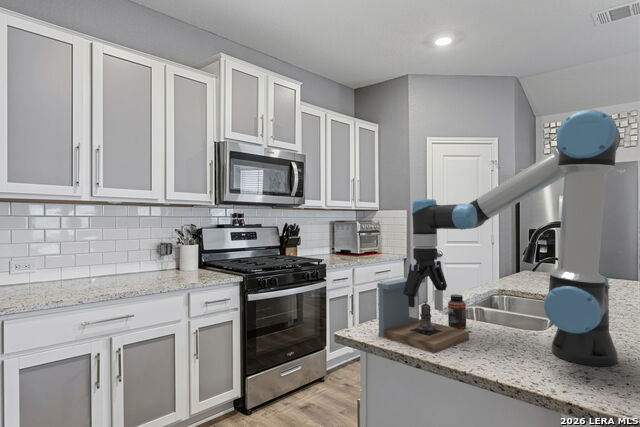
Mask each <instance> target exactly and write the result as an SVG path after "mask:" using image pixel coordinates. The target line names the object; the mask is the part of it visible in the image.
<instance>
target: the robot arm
mask: <svg viewBox="0 0 640 427" xmlns="http://www.w3.org/2000/svg"><path fill="white" fill-rule="evenodd" d="M620 143H621V134H620V131H619V129H618V127H617V123H616V121H615V119H613V118H612V117H611V115H609V114H608V113H605V112H602V111H599V110H595V109H586V110H580V111H578V112H575V113H573V114H570V115H569V116H567V118H566V119H564V120H563V121H562V123H561V124H560V125H559V128H558V129H557V132H556V144H557V145H556V146H554V149H553V151H552V153H550V154H548V155H546V156H545V157H543V158H541V159H540V160H538V161H537V162H535V163H533V164H532V165H530V166H528V167H526V168H525V169H523V170H522V171H520V172H518V173H517V174H515V175H514V176H512V177H510V178H508V179H507V180H505V181H503V182H502V183H500V184H499V185H497V186H496V187H494V188H492V189H490V190H489V191H487V192H486V193H484V194H482V195H481V196H479V197H478V198H476V199H474V200H472V201H471V202H469V203H458V204H454V203H453V204H437V200H436V199H434V198H433V199H432V198H430V199H429V198H428V199H425V198H424V199H423V198H422V199H415V200H413V202H412V208H411V209H412V210H411V211H412V212H411V215H412V237H413V238H412V244H413V245H412V246H413V247H414V248H412V249H413V251H412V252H413V257H412V258H413V260H415V262H416V263H410V264H409V265H408V266H409V267H408V274H407V277H406V278H407V281H406V284H405V288H404V292H403V294H404V295H406V296H408V304H409V317H413V318H418V297H416V294H417V291H418V289H420V286H421V285H422V283H421V282H422V280H423V279H424V278H425V279H426V278H427V277H428V278H429V280H430V281H431V282H432V284H433V286H434V288H435V289H433V290H434V291H433V292H434V293H433V295H434V296H433V297H434V299H433V301H434V311H435V310H436V311H440V312H443V311H444V291H447V287H448V284H447V281H446V278H445V275H444V272H443V268H442V263H441V262H442V261H440V260H438V248H437V247H438V230H462V231H463V230H471V229H476V228H478V227H482V226H483V225H484V223H485V222H486V221H489V219H491V218H493V217H495V216H497V215H499V214H500V213H502V212H504V211H506V210H507V209H509V208H511V207H513V206H515V205H516V204H518V203H520V202H521V201H524V200H525V199H527V198H529V197H530V196H532V195H534V194H536V193H538V192H540V191H541V190H544V189H545V188H547V187H548V186H550V185H553V184H554V183H556V182H558V181H559V180H561V179H564V180H563V189H562V190H563V191H562V203H561V218H560V229H559V230H560V231H559V241H558V242H559V244H558V257H557V258H558V259H557V267H556V268H555V269H554V270H552V271H550V274H549V284H548V292H547V294H546V296H545V299H544V300H543V302H544V303H543V308H544V313H545V315H546V317H547V319H548V320H549V321H550V322H551V323H552V324H553V326H555V327H556V332H555V335H554V336H553V340H552V343H551V352H552V354H553V355H555V357H558V358H560V359H562V360H564V361H567V362H571V363H575V364H580V365H586V366H594V367H610V366H614V365H617V364H618V360H619V359H618V358H619V357H618V356H619V355H618V352H617V349H616V346H615V343H614V341H613V337H612V336H611V334H610V303H609V301H610V300H609V298H610V297H609V294H610V293H609V291H610V290H609V289H610V287H611V286H610V285H609V284H610V283H609V279H608V278H607V276H605V275H601V273H600V272H599V268H600V259H601V256H600V255H601V246H602V245H601V244H602V233H603V232H602V230H603V217H604V209H605V208H604V207H605V204H604V203H605V193H606V179H607V174H608V173H610V172H611V171H612V170H613V169H615V168H616V155H617V150H618V149H619V146H620Z"/></svg>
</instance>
